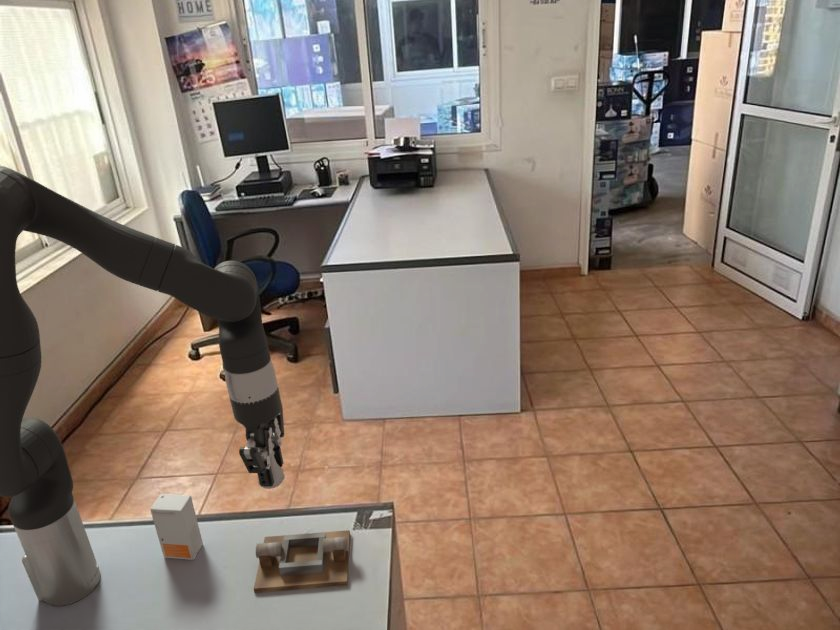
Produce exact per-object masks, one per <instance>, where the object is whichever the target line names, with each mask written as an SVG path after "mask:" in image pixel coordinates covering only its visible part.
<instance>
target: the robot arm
mask: <svg viewBox="0 0 840 630" xmlns="http://www.w3.org/2000/svg"><path fill="white" fill-rule="evenodd" d="M23 231H24V232H26V233H27V232H28V233H33V234H37V235H42V236H46V237H47V238H51V239H53V240H57V241H59V242H60V243H63V244H65V245H67V246H69V247H71V248H73V249H75V250H77V251H78V252H80V253H81V254H83V255H84V256H85V257H86V258H88V259H89V260H91V261H93V262H94V263H95V264H97V265H98V266H99V267H101V268H102V269H104V271H105V270H106V272H107V273H108V272H109V273H110V274H112V275H113V276H115V277H117V278H119V279H121V280H124V281H126V282H129V283H132V284H135V285H137V286H140V287H143V288H146V289H149V290H153V291H154V292H159V293H161V294H165V295H168V296H170V297H172V298H174V299H176V300H177V301H179V302H180V303H182V304H184V305H185V306H187V307H189V308H191V309H193V310H195V311H197V312H198V313H200V314H202V315H204V316H207V317H209V318H211V319H215V320H217V324H218V346H219V351H220V356H221V360H222V361H221V362H222V365H223V369H224V377H225V379H224V380H225V384H226V389H227V393H228V396H229V401H230V404H231V405H230V406H231V410H232V414H233V418H234V419H235V421H236V422H238V423H239V424H240V425H242V426H243V427H244V428H245V439H246V445H245V446H242V447H241V446H240V448H239V450H238V451H239V452H238V453H239V454H238V455H239V456H240V458H241V460H242V462H243V464H244V466H245V468H246V470H247V471H248V473H249V474H257V479H258V478H259V483H260V485H261V486H264V487H271V486H273V484H274V479H273V474H272V470H271V466H270V454H271V453H272V442H273V443H274V448H273V451H274V452H275V454H274V458H275V460H276V463H277V464H278V465H279V466H280V467H281V468H282V467H283V465H284V459H283V455H282V449H281V447H282V444H283V442H282V439H281V438H284V436H285V423H284V411H283V409H284V408H283V403H282V399H281V393H280V389H279V384H278V379H277V374H276V369H275V367H274V364H273V361H272V358H271V354H270V349H269V348H270V347H269V344H268V343H269V342H268V338H267V336H266V332H265V327H264V324H263V319H262V310H261V300H260V293H259V286H258V282H257V278H256V276H255V273H254V272H253V270H252V269H251V268H250V267H249V266H247V265H246V264H245V263H244V262H243V263H242V262H241V261H238V260H226V261H222V262H220V263H219V264H217V265H216V266H215V267H214V268H213V267H212V266H210V265H207V264H205V263H203V262H200V261H199V260H197V259H196V257H195V255H194V253H193V252H191V251H190V250H189V249H187V248H184V247H182V246H180V245H177V244H175V243H172V242H170V241H167V240H165V239H161V238H160V237H155V236H153V235H150V234H148V233H144V232H143V231H139V230H136V229H134V228H131V227H129V226H127V225H125V224H122V223H119V222H117V221H115V220H114V219H113V220H112V219H111V218H108V217H106V216H104V215H102V214H99V213H97V212H95V211H93V210H91V209H90V208H87V207H85V206H84V205H82V204H79V203H78V202H76V201H74V200H72V199H70V198H68V197H66V196H64V195H62V194H60V193H58V192H56V191H54V190H52V189H50V188H49V187H47V186H46V185H43V184H41V183H39V182H38V181H36V180H34V179H32V178H30V177H28V176H26V175H25V174H23V173H20V172H19V171H16V170H14V169H12V168H9V167H7V166H4V165H0V498H11V500H10V502H9V504H8V510H7V511H8V517H9V519H10V521H11V524H12V526H13V527H14V530H15V533H16V535H17V537H18V539H19V542H20V544H21V547H22V549H23V551H24V555H23V557H22V559H21V563H22V565H23V567H24V569H25V572H26V574H27V577H28V578H29V582H30V584H31V586H32V589H33V591H34V593H35V595H36V598H37V601H44V602H46V603H47V604H48V605H51V606H57V607H61V606H66V605H71V604H74V603H76V602H78V601H80V600H83V599H84V598H85V597H86V596H88V595H89V594H90V593H91V592H93V590H94V589H95V588H96V587H97V585H98V584H99V581H100V579H101V572H100V568H99V564H98V563H97V559H96V556H95V553H94V551H93V548H92V544H91V542H90V539H89V536H88V534H87V531H86V529H85V525H84V523H83V520H82V517H81V515H80V512H79V510H78V506H77V504H76V501H75V499H74V498H75V497H74V495H73V490H74V481H73V476H72V473H71V470H70V467H69V462H68V460H67V455H66V450H65V449H64V446H63V443H62V441H61V439H60V437H59V435H58V434H57V432H56V431H55V430H54V429H53V428H52V426H50V424H48V423H46V422H45V421H44V420H42V419H39V418H35V417H26V418H25V417H24V415H25V412H26V410H27V407H28V405H29V402H30V400H31V398H32V396H33V393H34V391H35V389H36V385H37V382H38V380H39V376H40V373H41V368H42V347H41V336H40V329H39V325H38V324H39V323H38V321H37V319H36V318H37V317H35V315H34V313H33V311H32V309H31V308H30V305H28V303H27V302H26V300H25V299H24V297H23V296H22V294H21V292H20V290H19V286H18V281H17V269H16V267H17V265H16V248H17V240H18V237H19V236H20V234H22V232H23ZM256 447H266V449H257V448H256ZM261 456H263V457H264V461H263V460H262V458H261ZM260 485H259V486H260ZM261 486H260V487H261Z"/></svg>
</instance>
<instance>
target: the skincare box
mask: <svg viewBox="0 0 840 630" xmlns="http://www.w3.org/2000/svg"><path fill="white" fill-rule="evenodd" d="M149 511H150V514H151V516H152V520H153V524H154V528H155V531H156V535H157V537H158V541H159V544H160V548H161V552H162V555H163V558H165V559H180V560H189V561H194V560H195V559H196V557H197V554H199V551H200V549H201V548H202V546H203V539H202V534H201V530H200V527H199V523H198V519H197V515H196V511H195V506H194V503H193V497H192V495H189V494H188V495H187V494H184V495H183V494H177V493H173V494H171V493H170V494H169V493H160V494H159V496H158V497H157V498H156V500H155V502H154V503H153V505H151V507H150V510H149Z"/></svg>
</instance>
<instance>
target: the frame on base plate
mask: <svg viewBox="0 0 840 630" xmlns="http://www.w3.org/2000/svg"><path fill="white" fill-rule="evenodd" d="M350 543H351V531H350V529H349V530H348V529H347V530H337V531H334V530H333V531H325V532H324V531H323V532H311V533H297V534H287V535H284V534H283V535H274V536H273V535H270V536H264V539H263V543H256V545H255V557H256V559H258V560H259V562H258V567H257V572H256V577H255V581H254V585H253V592H254V593H255V594H257V593H268V592H269V593H270V592H280V591H294V590H306V589H319V588H320V589H321V588H329V587H342V586H343V587H345V586H348V584H349V583H348V580H349V565H350V564H349V563H350V562H349V561H350V547H351V545H350Z"/></svg>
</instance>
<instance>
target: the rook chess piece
mask: <svg viewBox="0 0 840 630" xmlns="http://www.w3.org/2000/svg"><path fill="white" fill-rule="evenodd" d="M256 448H257V449H266V447H256ZM273 448H274V443H273V442H272V453H271V454H270V466H271V470H272V474H273V479H274V484H273V486H271V487H264V486H261V485H260V483H259V478H258V477H257V483H258V485H259V487H262V488H263V489H268V490H270V489H275V488H278V487H279V486H281V484H282V483H283V481H284V480H285V477H286V476H285V473H284V470H283V468H282V467H280V466H279V465H278V464H277V463H276V460H275V458H274V454H275V452H274V451H273ZM261 458H262V460H263V461H264V457H263V456H261Z"/></svg>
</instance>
